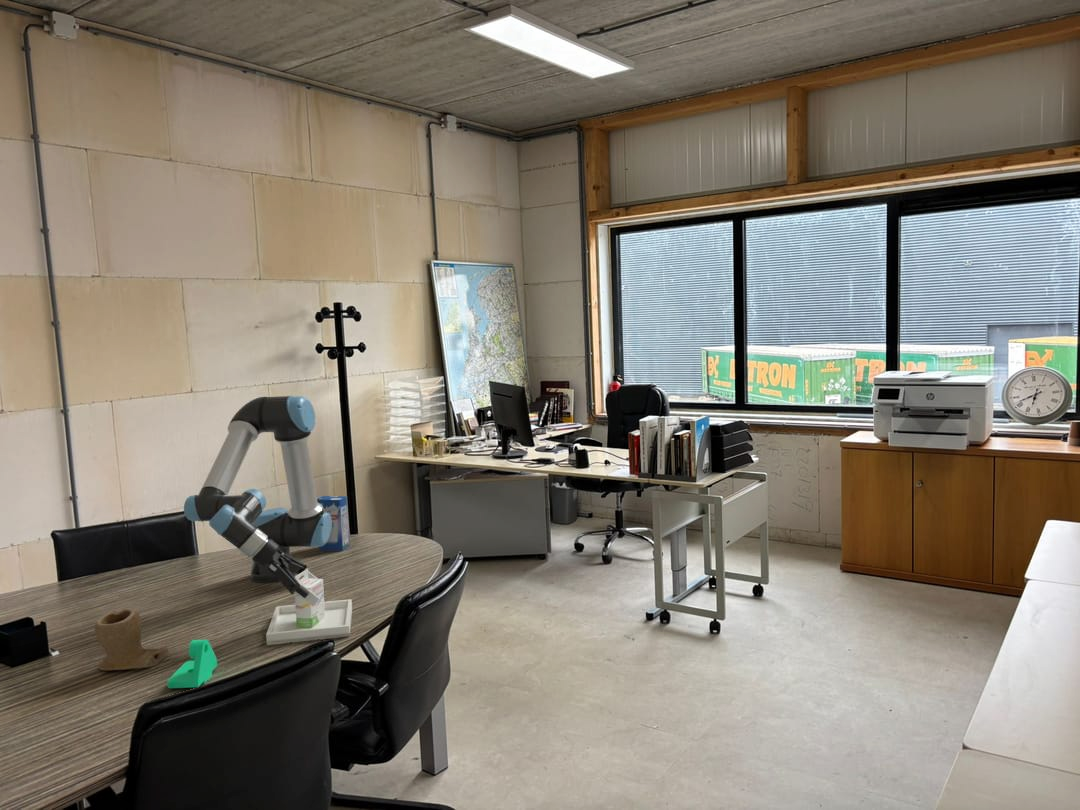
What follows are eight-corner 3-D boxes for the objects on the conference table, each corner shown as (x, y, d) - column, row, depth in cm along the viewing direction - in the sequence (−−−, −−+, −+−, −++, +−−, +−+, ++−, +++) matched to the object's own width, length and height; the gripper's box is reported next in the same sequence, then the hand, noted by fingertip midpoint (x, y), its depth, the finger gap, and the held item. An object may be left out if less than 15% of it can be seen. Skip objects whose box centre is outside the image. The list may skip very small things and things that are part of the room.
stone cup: (88, 678, 198) (82, 620, 197) (113, 658, 210) (108, 603, 209) (148, 676, 198) (143, 619, 197) (170, 656, 210) (166, 602, 208)
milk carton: (349, 546, 310) (346, 496, 308) (342, 550, 304) (339, 499, 302) (326, 545, 312) (322, 495, 310) (318, 550, 306) (315, 499, 304)
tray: (277, 616, 237) (276, 606, 237) (352, 608, 241) (351, 599, 241) (266, 645, 215) (266, 634, 215) (349, 636, 220) (349, 625, 219)
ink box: (312, 628, 224) (309, 577, 222) (296, 627, 225) (292, 577, 223) (326, 617, 232) (323, 568, 231) (310, 616, 233) (307, 567, 232)
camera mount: (187, 670, 201) (184, 631, 200) (217, 669, 202) (214, 630, 200) (166, 692, 189) (163, 651, 188) (198, 691, 190) (195, 650, 189)
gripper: (257, 545, 235) (312, 589, 240) (243, 571, 211) (305, 619, 215) (274, 527, 236) (329, 571, 240) (262, 550, 211) (324, 599, 216)
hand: (318, 594), depth 228 cm, fingers open, 13 cm apart
